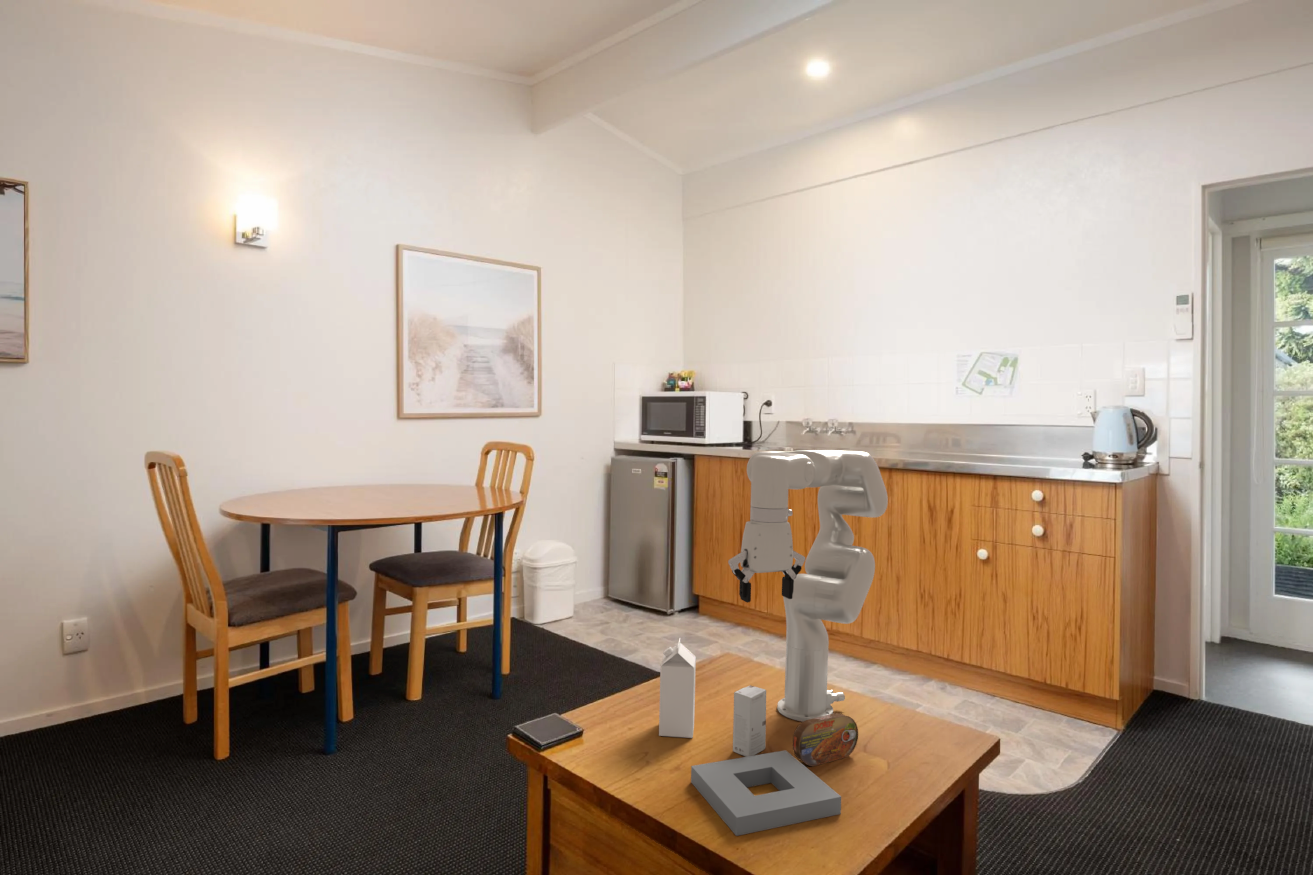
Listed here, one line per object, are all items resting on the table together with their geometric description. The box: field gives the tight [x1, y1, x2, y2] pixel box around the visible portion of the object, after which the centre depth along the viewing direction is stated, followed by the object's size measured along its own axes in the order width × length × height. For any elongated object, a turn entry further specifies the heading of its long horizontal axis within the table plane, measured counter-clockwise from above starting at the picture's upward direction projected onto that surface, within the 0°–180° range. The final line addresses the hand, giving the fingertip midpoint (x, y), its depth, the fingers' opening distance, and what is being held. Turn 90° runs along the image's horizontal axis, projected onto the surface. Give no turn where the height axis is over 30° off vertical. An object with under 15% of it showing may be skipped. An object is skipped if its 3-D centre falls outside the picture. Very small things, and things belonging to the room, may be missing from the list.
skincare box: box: [732, 685, 767, 757], centre depth 146 cm, size 6×4×12 cm
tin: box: [792, 712, 859, 767], centre depth 144 cm, size 15×3×8 cm, turn 117°
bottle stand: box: [690, 749, 842, 837], centre depth 128 cm, size 20×18×3 cm
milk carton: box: [658, 637, 697, 739], centre depth 155 cm, size 7×7×19 cm
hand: (766, 599), depth 148 cm, fingers open, 9 cm apart
